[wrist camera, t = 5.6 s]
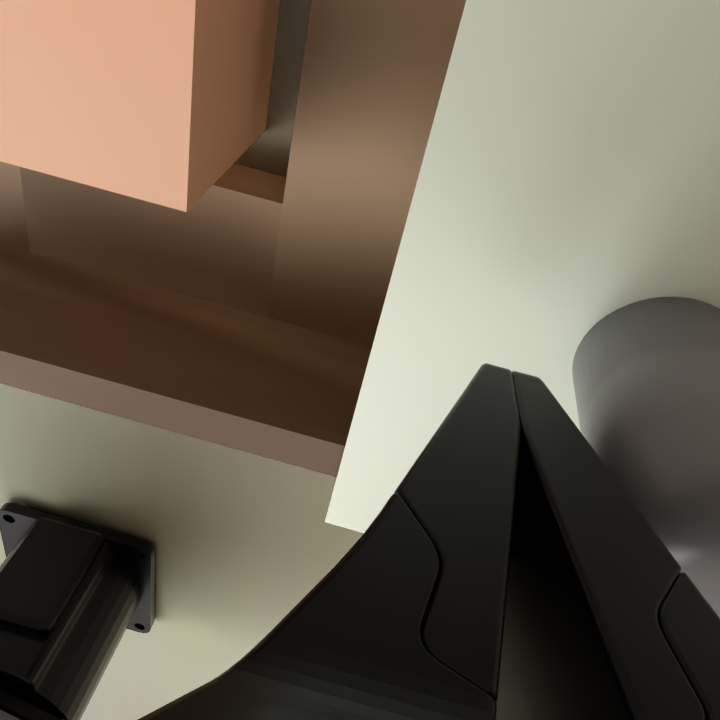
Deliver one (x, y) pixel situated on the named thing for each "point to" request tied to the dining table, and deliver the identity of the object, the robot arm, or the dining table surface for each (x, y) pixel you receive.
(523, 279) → the sliding cover
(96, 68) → the terracotta block
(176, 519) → the dining table surface
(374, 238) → the walnut board
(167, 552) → the dining table surface
